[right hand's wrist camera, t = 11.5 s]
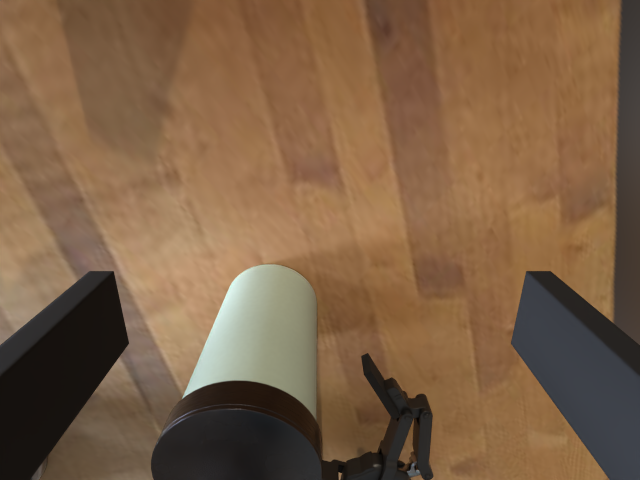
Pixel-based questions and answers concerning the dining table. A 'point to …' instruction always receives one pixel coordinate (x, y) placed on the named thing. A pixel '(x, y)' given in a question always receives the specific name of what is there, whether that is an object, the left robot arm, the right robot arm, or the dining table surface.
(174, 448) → the lid
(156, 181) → the dining table surface
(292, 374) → the jar
